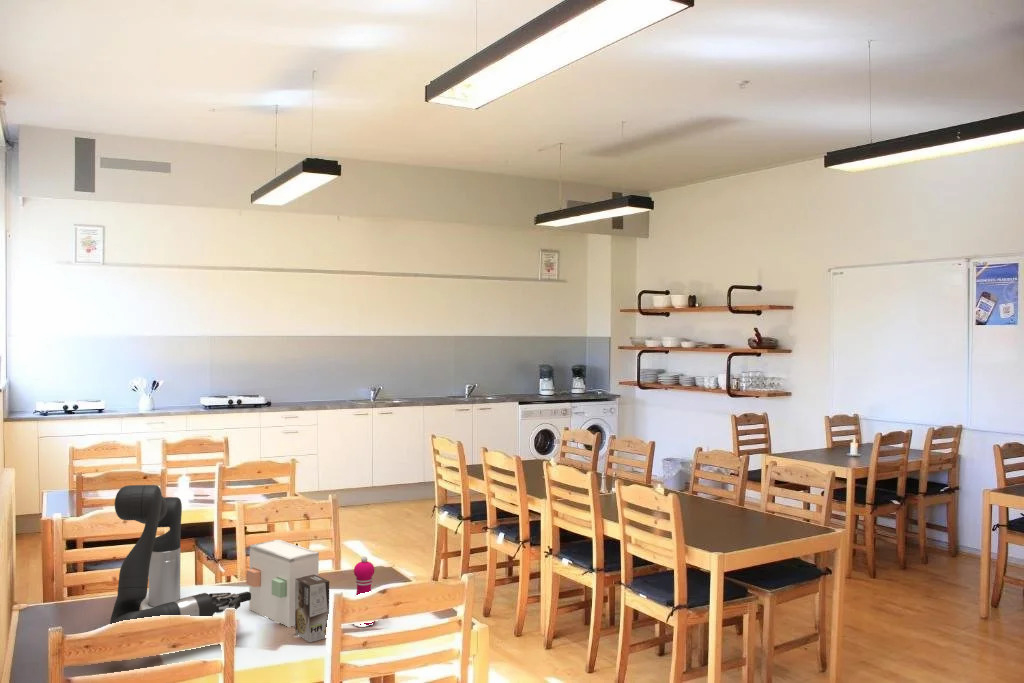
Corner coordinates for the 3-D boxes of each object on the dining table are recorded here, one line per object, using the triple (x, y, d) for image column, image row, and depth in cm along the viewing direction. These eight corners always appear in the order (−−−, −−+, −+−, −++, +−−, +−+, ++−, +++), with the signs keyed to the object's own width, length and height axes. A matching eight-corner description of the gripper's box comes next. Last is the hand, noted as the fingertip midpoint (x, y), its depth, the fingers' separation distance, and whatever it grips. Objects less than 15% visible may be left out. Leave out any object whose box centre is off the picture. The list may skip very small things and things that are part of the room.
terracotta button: (246, 584, 250) (246, 569, 250) (258, 581, 253) (258, 567, 253) (254, 587, 247) (254, 572, 247) (266, 584, 250) (266, 570, 250)
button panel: (249, 609, 253) (249, 545, 252) (277, 601, 260) (278, 539, 260) (289, 627, 238) (289, 559, 238) (318, 618, 245) (318, 552, 245)
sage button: (271, 594, 240) (271, 579, 240) (283, 591, 243) (283, 576, 243) (279, 597, 238) (280, 582, 237) (291, 594, 241) (291, 579, 240)
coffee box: (329, 637, 231) (330, 581, 230) (309, 643, 226) (309, 585, 226) (314, 628, 238) (315, 573, 237) (294, 633, 233) (294, 577, 233)
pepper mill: (365, 617, 247) (365, 551, 247) (381, 623, 242) (381, 556, 242) (346, 624, 241) (346, 556, 241) (362, 630, 237) (362, 561, 237)
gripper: (203, 602, 215) (262, 587, 228) (179, 591, 224) (237, 577, 237) (203, 630, 216) (262, 614, 228) (179, 618, 224) (237, 603, 237)
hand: (249, 595), depth 233 cm, fingers closed
